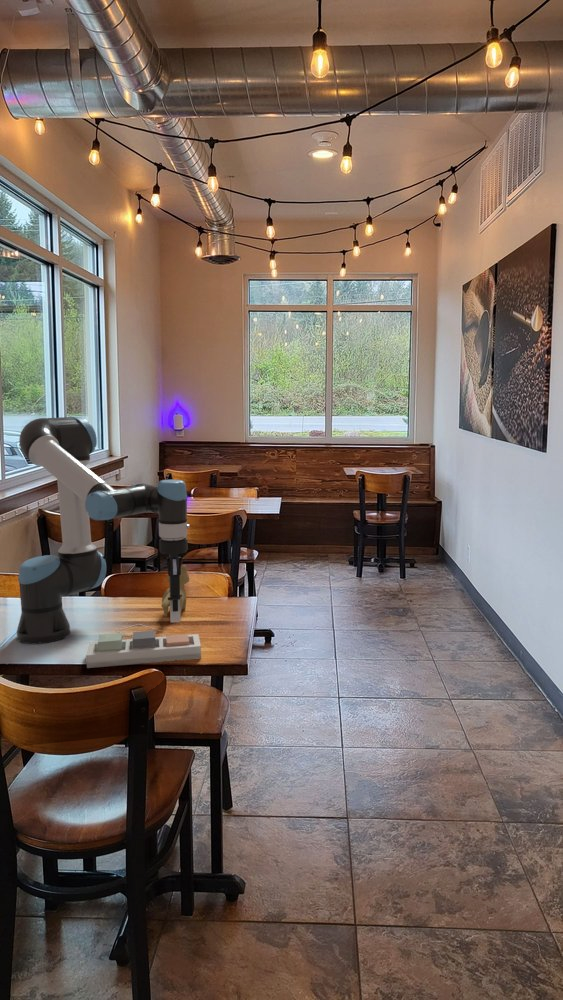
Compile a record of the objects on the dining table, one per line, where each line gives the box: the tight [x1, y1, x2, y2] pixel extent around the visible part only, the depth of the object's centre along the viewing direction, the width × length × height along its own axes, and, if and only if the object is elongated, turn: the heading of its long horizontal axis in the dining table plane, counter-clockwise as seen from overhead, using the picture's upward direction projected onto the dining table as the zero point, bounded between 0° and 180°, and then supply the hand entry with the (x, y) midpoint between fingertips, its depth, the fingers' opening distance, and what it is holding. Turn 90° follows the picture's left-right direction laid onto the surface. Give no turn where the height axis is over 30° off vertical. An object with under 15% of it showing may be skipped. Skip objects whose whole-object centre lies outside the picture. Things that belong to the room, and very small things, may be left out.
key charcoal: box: [132, 629, 156, 648], centre depth 190 cm, size 6×6×2 cm
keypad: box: [85, 633, 202, 669], centre depth 191 cm, size 30×10×4 cm, turn 101°
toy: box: [161, 564, 190, 618], centre depth 226 cm, size 7×24×15 cm, turn 174°
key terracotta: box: [165, 633, 189, 647], centre depth 192 cm, size 6×6×2 cm
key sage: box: [97, 632, 123, 651], centre depth 189 cm, size 6×6×2 cm
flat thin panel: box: [115, 623, 166, 638], centre depth 211 cm, size 9×1×15 cm
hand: (175, 621), depth 192 cm, fingers closed
